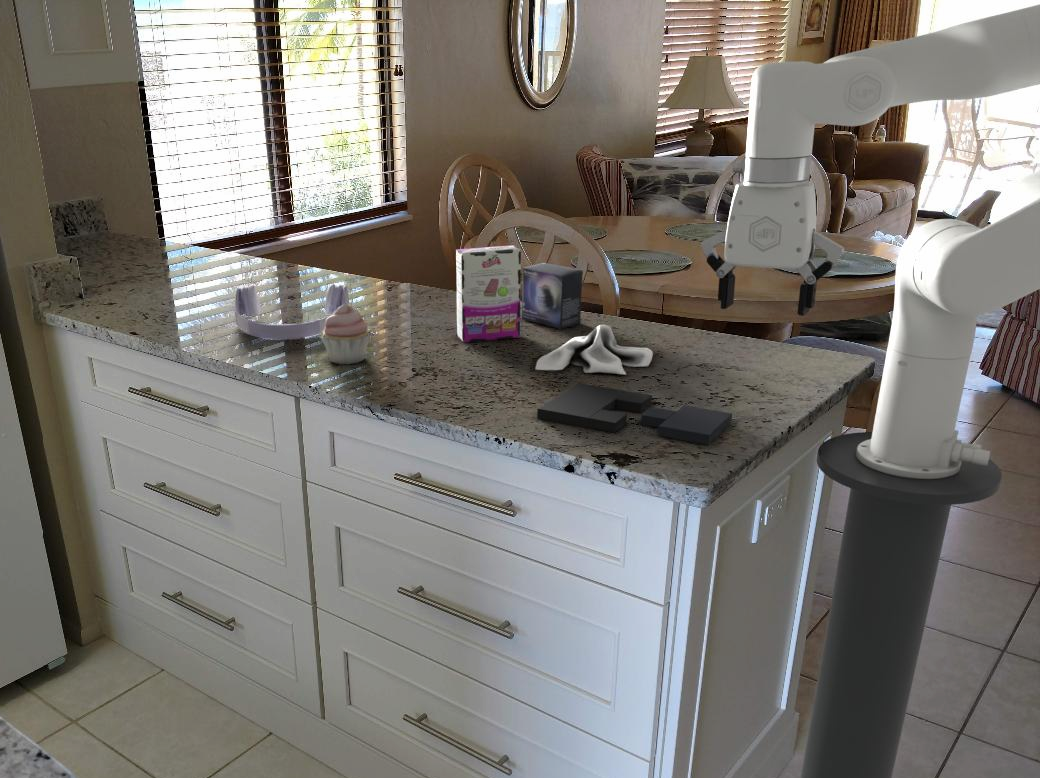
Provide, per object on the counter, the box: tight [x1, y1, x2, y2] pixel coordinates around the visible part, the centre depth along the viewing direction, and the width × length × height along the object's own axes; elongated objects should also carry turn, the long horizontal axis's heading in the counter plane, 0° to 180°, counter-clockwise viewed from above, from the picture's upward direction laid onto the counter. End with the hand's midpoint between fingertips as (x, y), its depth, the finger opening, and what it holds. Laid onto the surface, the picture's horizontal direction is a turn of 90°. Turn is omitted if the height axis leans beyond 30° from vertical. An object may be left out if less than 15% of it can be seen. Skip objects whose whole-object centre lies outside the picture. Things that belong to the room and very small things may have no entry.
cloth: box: [534, 324, 654, 376], centre depth 169 cm, size 22×19×6 cm
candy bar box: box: [455, 245, 522, 343], centre depth 182 cm, size 11×5×16 cm, turn 101°
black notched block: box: [536, 382, 653, 434], centre depth 146 cm, size 12×14×2 cm
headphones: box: [233, 283, 350, 340], centre depth 195 cm, size 22×7×20 cm
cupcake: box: [318, 304, 374, 365], centre depth 171 cm, size 9×9×10 cm
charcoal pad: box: [640, 404, 733, 446], centre depth 139 cm, size 11×10×2 cm
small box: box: [520, 262, 584, 330], centre depth 192 cm, size 11×6×10 cm, turn 40°
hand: (764, 309), depth 127 cm, fingers open, 9 cm apart
